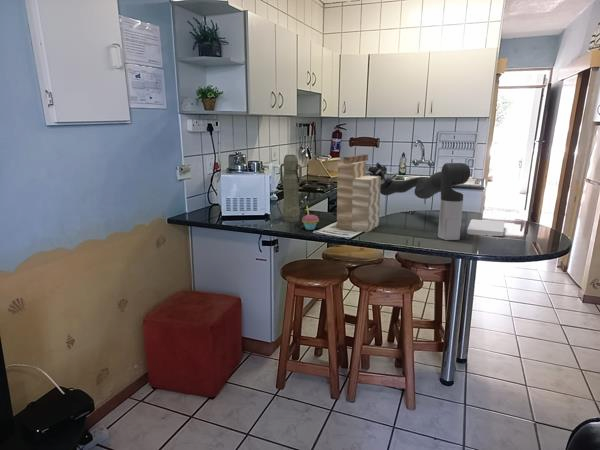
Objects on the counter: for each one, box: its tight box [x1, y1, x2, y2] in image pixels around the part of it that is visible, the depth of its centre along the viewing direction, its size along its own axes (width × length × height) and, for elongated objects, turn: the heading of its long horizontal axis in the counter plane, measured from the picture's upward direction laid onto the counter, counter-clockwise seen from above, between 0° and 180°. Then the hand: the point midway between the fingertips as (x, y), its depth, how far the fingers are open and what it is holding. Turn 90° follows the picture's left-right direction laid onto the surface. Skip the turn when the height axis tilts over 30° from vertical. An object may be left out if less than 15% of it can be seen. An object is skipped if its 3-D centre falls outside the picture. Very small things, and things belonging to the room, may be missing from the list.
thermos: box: [279, 154, 303, 223], centre depth 213 cm, size 9×12×35 cm
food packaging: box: [466, 218, 505, 237], centre depth 191 cm, size 15×3×20 cm
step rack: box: [336, 161, 381, 233], centre depth 197 cm, size 16×16×32 cm
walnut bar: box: [342, 153, 369, 164], centre depth 199 cm, size 24×3×3 cm, turn 149°
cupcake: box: [301, 205, 320, 231], centre depth 197 cm, size 9×8×12 cm
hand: (369, 163), depth 216 cm, fingers open, 8 cm apart
